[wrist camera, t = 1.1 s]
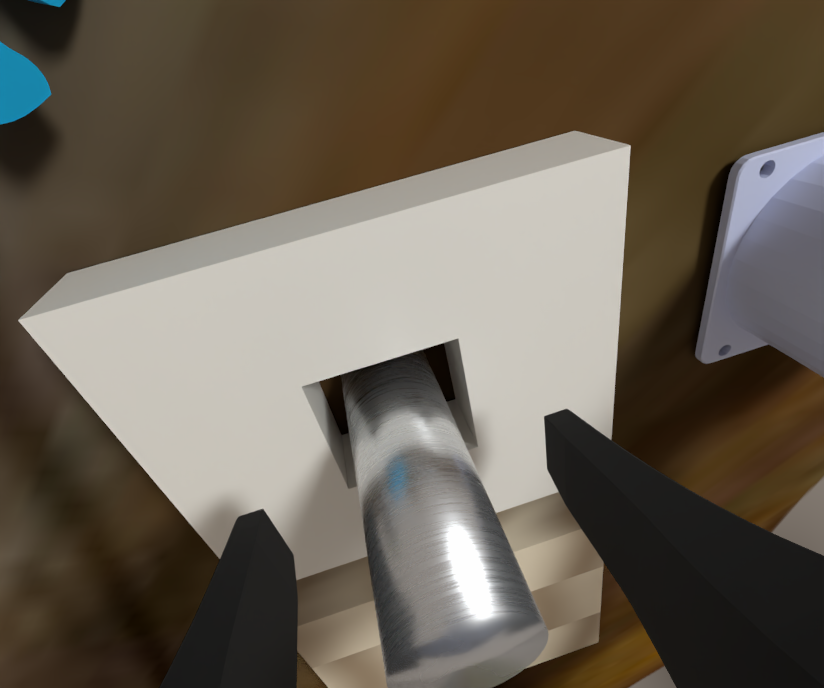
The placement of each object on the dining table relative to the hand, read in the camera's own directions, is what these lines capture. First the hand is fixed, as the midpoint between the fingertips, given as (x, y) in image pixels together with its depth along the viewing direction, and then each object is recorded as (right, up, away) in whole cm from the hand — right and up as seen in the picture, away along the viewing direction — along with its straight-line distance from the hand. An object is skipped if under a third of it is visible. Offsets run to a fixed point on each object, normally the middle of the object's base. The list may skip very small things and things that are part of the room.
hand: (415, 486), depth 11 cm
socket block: (-1, +3, +4) cm, 5 cm away
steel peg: (-1, +3, +4) cm, 5 cm away
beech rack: (+2, -9, +13) cm, 16 cm away
